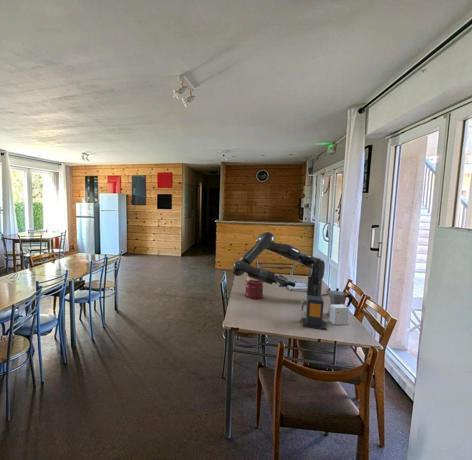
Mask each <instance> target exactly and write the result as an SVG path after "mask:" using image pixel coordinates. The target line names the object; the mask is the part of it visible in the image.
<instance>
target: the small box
mask: <svg viewBox="0 0 472 460" xmlns="http://www.w3.org/2000/svg"><path fill="white" fill-rule="evenodd" d="M345 305H346V304H345ZM345 305H344V303H343V304H335V305H330V304H329V307H330V316H329V322H330V323H331V324H332V325H335V326H339V325H340V326H342V325H343V326H344V325H345V326H346V325H349V324H348V323H349V322H348V321H349V307H346V306H345Z"/></svg>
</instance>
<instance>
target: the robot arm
mask: <svg viewBox="0 0 472 460" xmlns="http://www.w3.org/2000/svg"><path fill="white" fill-rule="evenodd" d="M275 239H276V238H275V236H274V234H273V233H272V232H271V231H266V232H263V233H261V234H259V235H258V236H256V238H255V243H256V244H255V245H253V246H252V247H250V248H249V249H248V250H247V251H246V252H244V254H243V255H242V256H241V258H240V260H236V261H235V262H234V264H233V267H232V273H233V275H234V276H235V277H241V276H243V275H244V274H245V273H246V274H247V277H250V278H253V279H257V280H259V281H262V282H263V283H265V284H268V285H273V284H276V285H278V288H285V287H286V288H288V287H287V286H288V285H289V286H292V287H295V283H294V282H291V281H292V280H289V279H288V278H287V277H285V276H283V275H282V274H278V275H277V274H276V273H275V272H274V271H271V270H267V269H265V268H259V267H256V266H253V265H252V264H253V262H255V260H256V259H257V258H258V257H259V256H260V255H261V254H262V253H263V252H264V251H265V250H267V251H270V252H272V253H275V254H277V255H280V256H282V257H283V258H286V259H287V260H290V261H293V262H296V263H299V264H301V265H303V266H305V267H306V268H307V269H309V270H311V273H310V274H308V275H307V285H306V286H307V291H306V296H307V295H310V296H319V297H323V296H329V295H328V294H327V293H323V294H322V290H323V278H324V276H325V269H326V263H325V260H323V259H322V258H320V257H317V256H312V255H309V254H306V253H304V252H303V251H302V250H300V248H299V249H298V247H295V246H293V245H291V244H289V243H283V242H275ZM328 291H331V287H329V288H328ZM305 299H306V301H305V302H306V304H307V298H305Z"/></svg>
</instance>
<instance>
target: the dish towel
mask: <svg viewBox="0 0 472 460" xmlns="http://www.w3.org/2000/svg"><path fill="white" fill-rule="evenodd" d="M290 281H291V282H294V283H295V287H292V286H289V285H288V286H287V287H286V288H287V289H289V290H290V291H294V292H295V291H296V292H307V285H306V284H305V283H304V282H303V281H298V280H290Z"/></svg>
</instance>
